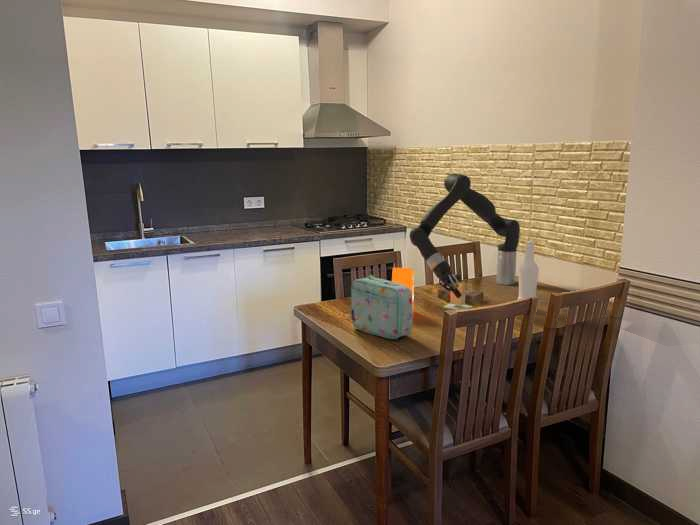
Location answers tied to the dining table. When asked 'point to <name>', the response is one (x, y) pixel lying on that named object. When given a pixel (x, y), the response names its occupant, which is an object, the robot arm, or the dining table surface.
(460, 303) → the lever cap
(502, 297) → the dining table surface
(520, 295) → the bottle
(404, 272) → the orange juice
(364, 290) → the lunch box
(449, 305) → the pad
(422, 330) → the dining table surface
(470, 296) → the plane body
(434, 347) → the dining table surface
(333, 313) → the dining table surface
